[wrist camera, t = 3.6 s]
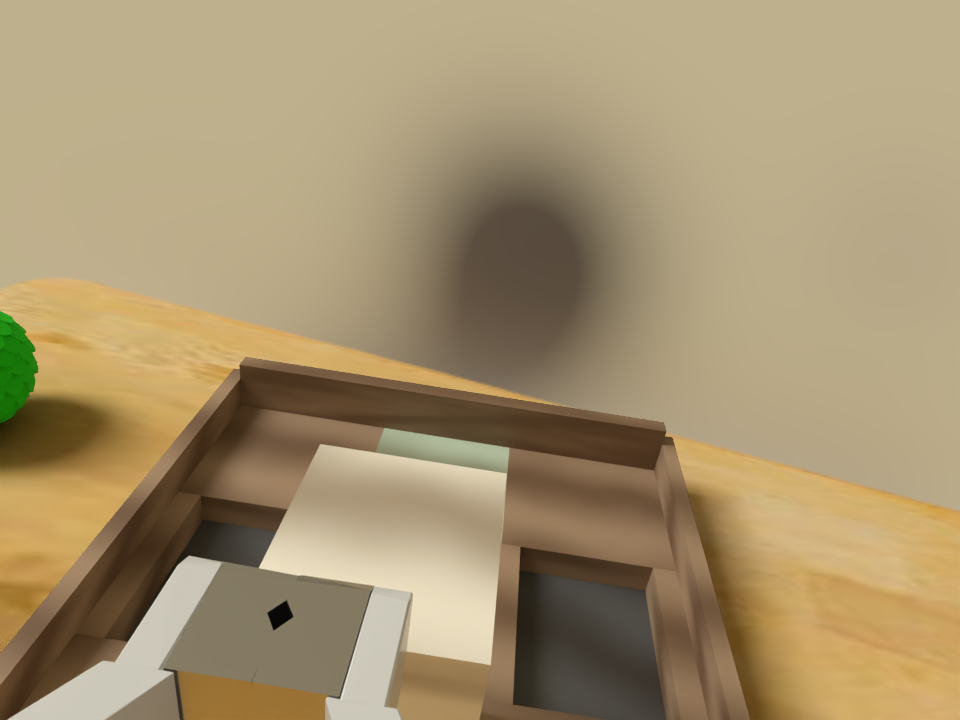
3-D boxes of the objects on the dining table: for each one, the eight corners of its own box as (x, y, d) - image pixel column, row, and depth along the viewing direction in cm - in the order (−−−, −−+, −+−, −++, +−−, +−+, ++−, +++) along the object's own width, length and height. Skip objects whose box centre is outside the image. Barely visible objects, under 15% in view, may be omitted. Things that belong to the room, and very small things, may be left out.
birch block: (438, 914, 21) (490, 664, 16) (249, 883, 21) (231, 623, 16) (462, 708, 28) (506, 473, 22) (315, 683, 28) (320, 443, 22)
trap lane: (786, 1085, 20) (851, 1018, 18) (-129, 930, 21) (-185, 845, 18) (656, 486, 45) (676, 424, 43) (236, 420, 45) (233, 354, 43)
